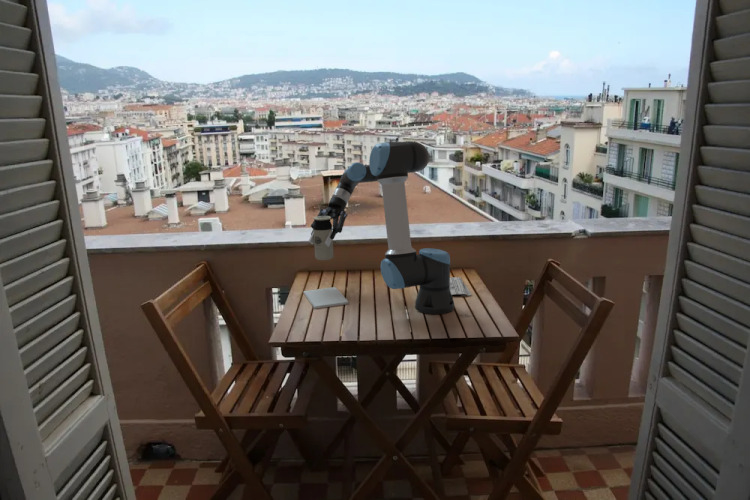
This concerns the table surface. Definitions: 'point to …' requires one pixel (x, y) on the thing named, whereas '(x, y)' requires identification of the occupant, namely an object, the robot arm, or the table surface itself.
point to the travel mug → (322, 238)
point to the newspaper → (458, 287)
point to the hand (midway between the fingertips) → (318, 243)
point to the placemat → (325, 297)
